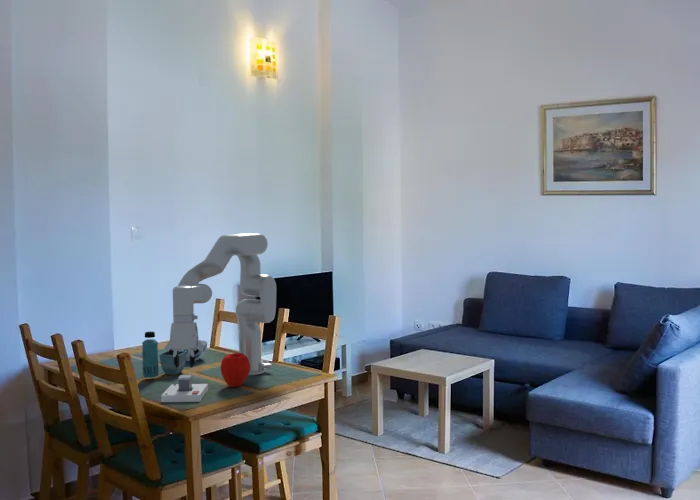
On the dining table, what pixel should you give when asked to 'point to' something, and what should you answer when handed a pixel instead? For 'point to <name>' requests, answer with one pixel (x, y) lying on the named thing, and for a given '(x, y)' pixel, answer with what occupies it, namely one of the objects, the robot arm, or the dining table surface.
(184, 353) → the flower pot
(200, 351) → the chinaware
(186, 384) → the plug
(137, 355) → the dining table surface
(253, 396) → the dining table surface
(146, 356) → the beverage bottle
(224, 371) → the apple
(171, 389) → the socket plate
